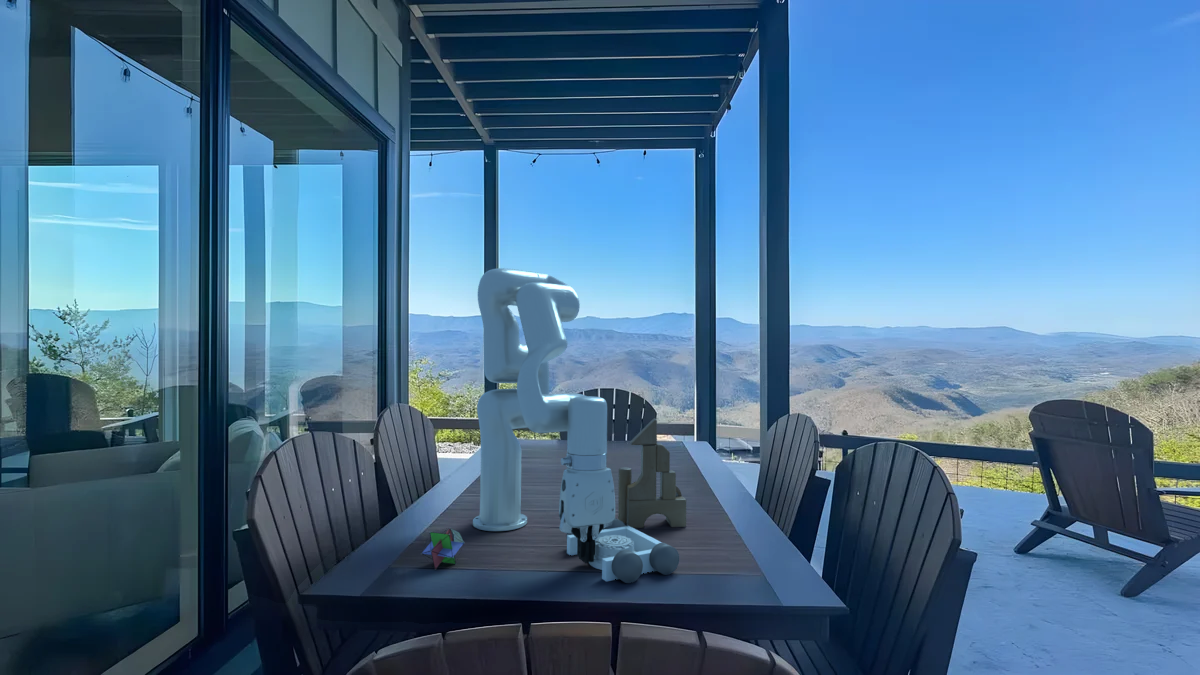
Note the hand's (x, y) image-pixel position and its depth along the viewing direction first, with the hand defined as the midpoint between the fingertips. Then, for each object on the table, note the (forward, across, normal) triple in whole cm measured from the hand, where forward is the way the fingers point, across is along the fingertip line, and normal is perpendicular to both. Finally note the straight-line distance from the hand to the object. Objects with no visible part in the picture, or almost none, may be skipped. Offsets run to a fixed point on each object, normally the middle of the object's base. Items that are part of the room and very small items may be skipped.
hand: (586, 560), depth 103 cm
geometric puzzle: (+1, -24, +13) cm, 27 cm away
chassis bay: (+1, +6, 0) cm, 6 cm away
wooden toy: (+1, +26, +17) cm, 31 cm away
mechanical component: (+2, +6, 0) cm, 6 cm away
